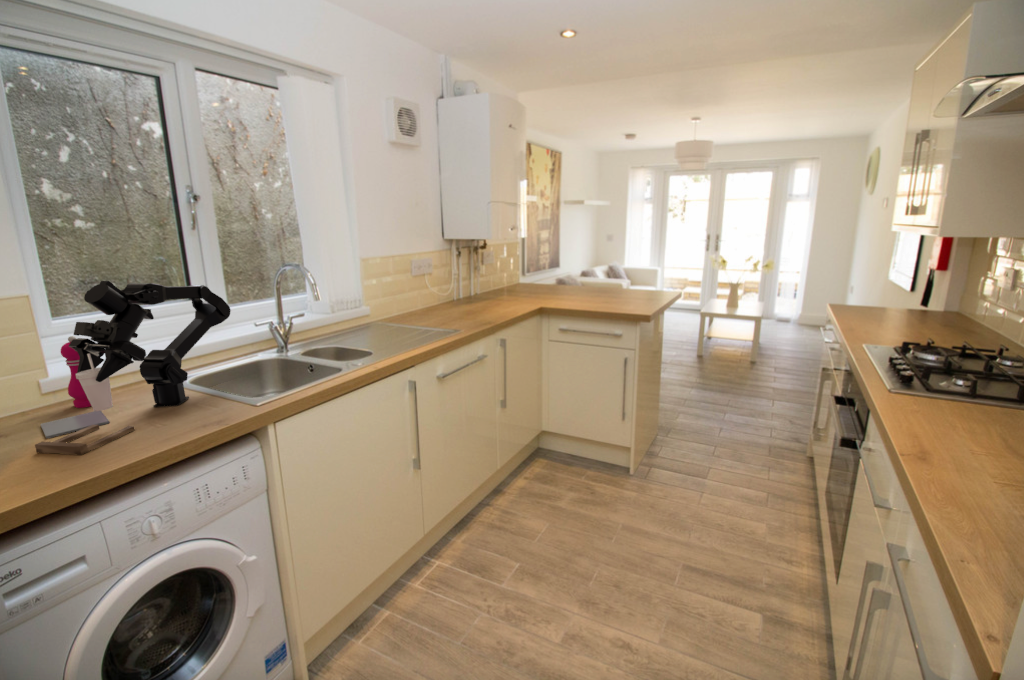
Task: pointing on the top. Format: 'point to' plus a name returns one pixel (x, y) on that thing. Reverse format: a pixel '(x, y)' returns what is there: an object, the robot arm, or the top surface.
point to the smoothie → (95, 388)
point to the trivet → (73, 423)
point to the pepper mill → (74, 375)
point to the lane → (79, 448)
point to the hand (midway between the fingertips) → (87, 380)
